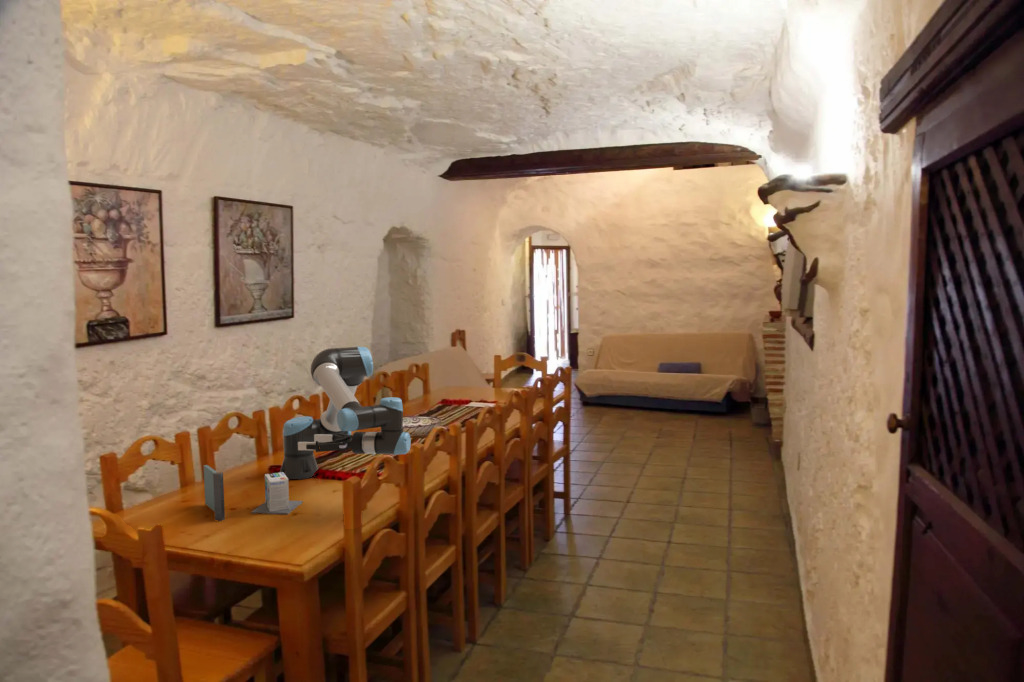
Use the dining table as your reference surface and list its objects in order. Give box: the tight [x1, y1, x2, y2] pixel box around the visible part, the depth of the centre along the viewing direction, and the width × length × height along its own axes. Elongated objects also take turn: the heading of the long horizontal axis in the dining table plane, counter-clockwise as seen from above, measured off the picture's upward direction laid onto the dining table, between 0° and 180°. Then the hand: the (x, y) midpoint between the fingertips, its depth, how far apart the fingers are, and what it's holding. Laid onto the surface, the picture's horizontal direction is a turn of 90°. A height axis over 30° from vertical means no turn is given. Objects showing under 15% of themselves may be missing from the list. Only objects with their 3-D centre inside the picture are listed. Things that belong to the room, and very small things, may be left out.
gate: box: [203, 464, 218, 513], centre depth 248 cm, size 18×1×14 cm, turn 39°
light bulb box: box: [264, 471, 290, 512], centre depth 252 cm, size 11×7×11 cm, turn 28°
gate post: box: [213, 471, 226, 522], centre depth 239 cm, size 2×2×16 cm
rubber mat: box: [251, 500, 304, 516], centre depth 252 cm, size 13×13×1 cm
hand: (306, 442), depth 249 cm, fingers open, 13 cm apart
